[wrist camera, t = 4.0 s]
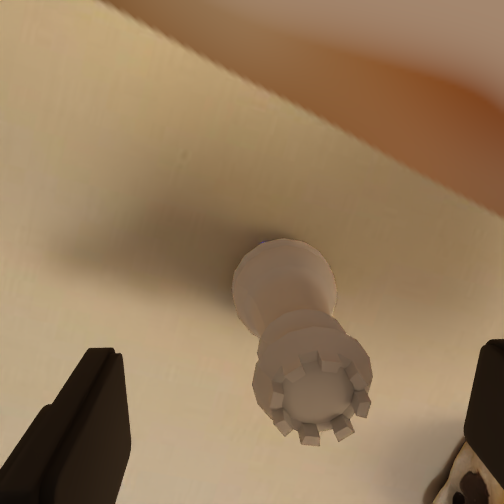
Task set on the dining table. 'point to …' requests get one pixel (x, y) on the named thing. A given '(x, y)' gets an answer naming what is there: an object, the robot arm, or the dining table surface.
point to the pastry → (470, 482)
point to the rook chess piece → (300, 341)
